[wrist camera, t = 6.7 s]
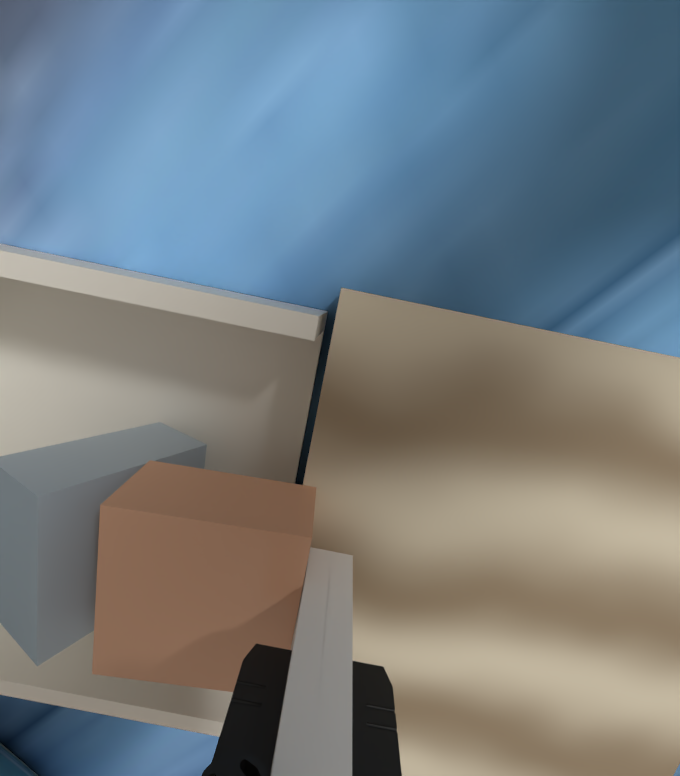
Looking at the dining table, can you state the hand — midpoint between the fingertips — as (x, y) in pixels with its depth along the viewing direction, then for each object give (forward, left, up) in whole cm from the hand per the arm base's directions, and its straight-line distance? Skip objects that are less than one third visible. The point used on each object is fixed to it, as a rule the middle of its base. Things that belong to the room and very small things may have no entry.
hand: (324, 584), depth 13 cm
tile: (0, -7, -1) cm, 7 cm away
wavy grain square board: (0, +7, -5) cm, 9 cm away
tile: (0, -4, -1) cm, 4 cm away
